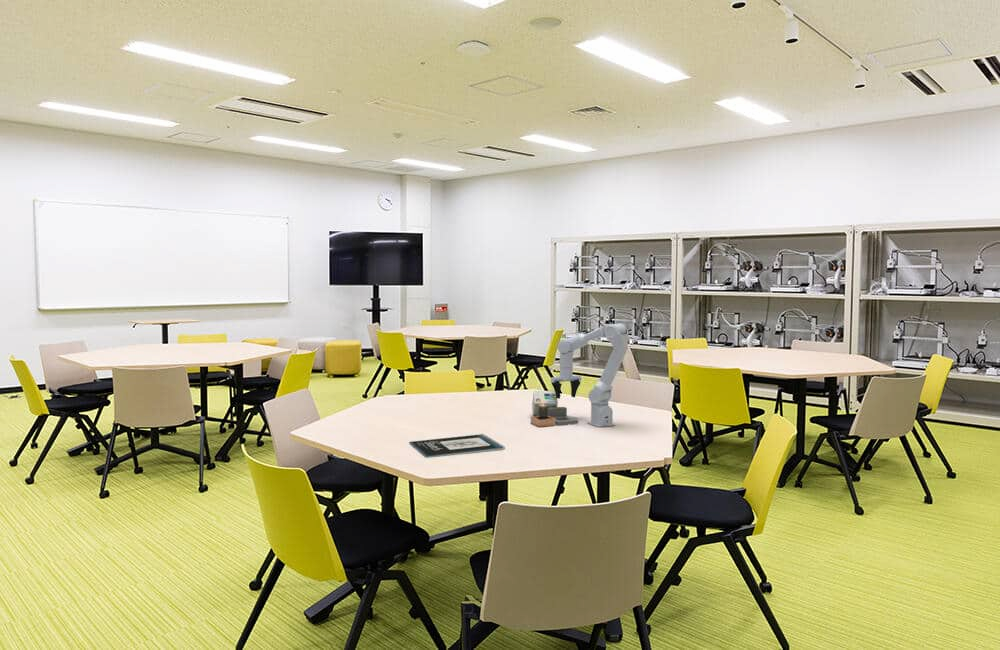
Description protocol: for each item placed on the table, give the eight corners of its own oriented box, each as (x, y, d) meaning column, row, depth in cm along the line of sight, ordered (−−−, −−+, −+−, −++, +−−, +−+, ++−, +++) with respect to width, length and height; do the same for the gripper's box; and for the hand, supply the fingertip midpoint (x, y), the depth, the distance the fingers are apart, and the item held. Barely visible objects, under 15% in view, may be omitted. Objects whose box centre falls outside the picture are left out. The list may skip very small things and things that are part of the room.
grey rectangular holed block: (578, 423, 288) (578, 411, 288) (557, 425, 284) (558, 413, 284) (563, 417, 300) (563, 406, 300) (543, 419, 296) (543, 407, 296)
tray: (555, 425, 284) (555, 418, 284) (539, 427, 281) (539, 420, 280) (546, 422, 291) (546, 415, 291) (530, 423, 288) (530, 416, 287)
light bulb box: (554, 403, 308) (557, 390, 300) (556, 416, 304) (558, 403, 296) (531, 403, 308) (533, 390, 299) (532, 416, 303) (534, 403, 295)
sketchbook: (409, 445, 252) (409, 439, 252) (483, 438, 264) (483, 432, 264) (426, 459, 232) (426, 453, 232) (505, 451, 244) (505, 445, 244)
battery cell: (549, 423, 285) (549, 403, 284) (541, 424, 283) (541, 404, 283) (544, 421, 288) (545, 402, 288) (536, 422, 287) (536, 402, 286)
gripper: (575, 365, 303) (575, 395, 304) (547, 366, 297) (546, 397, 298) (584, 367, 297) (583, 397, 298) (555, 368, 291) (554, 399, 292)
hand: (565, 397), depth 298 cm, fingers open, 7 cm apart
